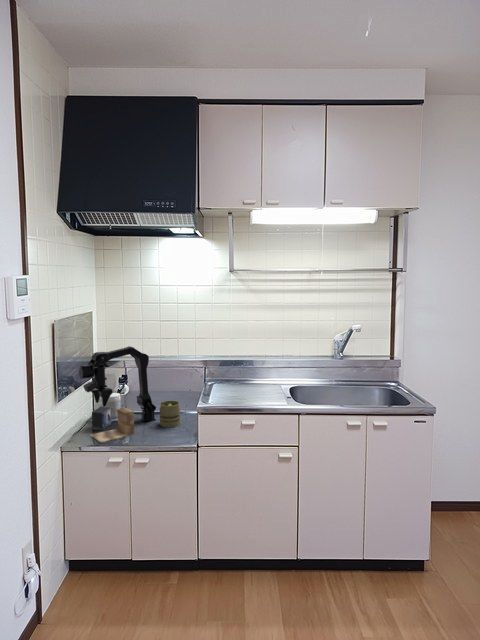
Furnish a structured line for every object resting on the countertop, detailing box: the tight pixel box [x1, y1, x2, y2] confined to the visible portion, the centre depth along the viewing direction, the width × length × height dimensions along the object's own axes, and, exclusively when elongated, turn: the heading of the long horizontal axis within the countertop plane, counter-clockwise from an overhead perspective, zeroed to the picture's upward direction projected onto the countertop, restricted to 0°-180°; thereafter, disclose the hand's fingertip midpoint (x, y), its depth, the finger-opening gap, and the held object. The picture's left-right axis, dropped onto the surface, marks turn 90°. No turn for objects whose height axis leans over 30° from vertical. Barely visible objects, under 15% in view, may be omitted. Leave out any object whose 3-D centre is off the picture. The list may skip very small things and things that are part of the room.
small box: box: [91, 406, 112, 432], centre depth 260 cm, size 11×6×10 cm, turn 168°
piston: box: [159, 400, 181, 428], centre depth 266 cm, size 11×12×11 cm
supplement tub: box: [104, 392, 122, 422], centre depth 275 cm, size 10×10×15 cm
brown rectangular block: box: [117, 407, 135, 436], centre depth 253 cm, size 5×9×12 cm, turn 40°
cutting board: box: [90, 428, 127, 444], centre depth 247 cm, size 14×13×1 cm
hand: (100, 404), depth 254 cm, fingers open, 9 cm apart
